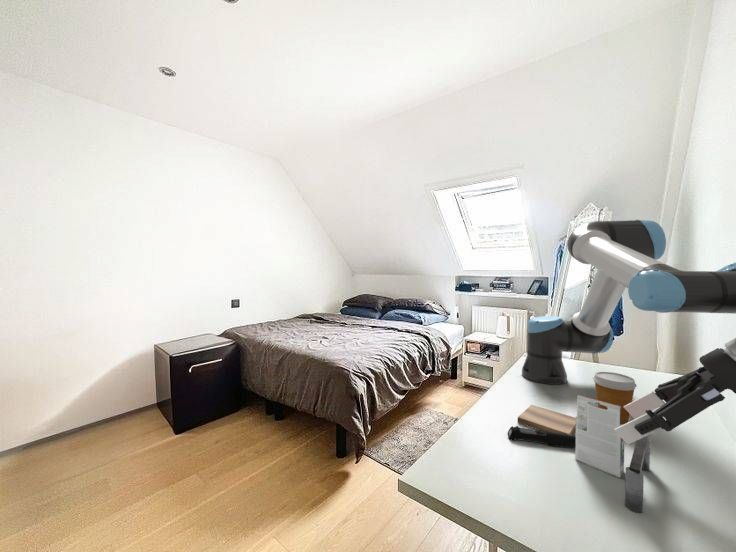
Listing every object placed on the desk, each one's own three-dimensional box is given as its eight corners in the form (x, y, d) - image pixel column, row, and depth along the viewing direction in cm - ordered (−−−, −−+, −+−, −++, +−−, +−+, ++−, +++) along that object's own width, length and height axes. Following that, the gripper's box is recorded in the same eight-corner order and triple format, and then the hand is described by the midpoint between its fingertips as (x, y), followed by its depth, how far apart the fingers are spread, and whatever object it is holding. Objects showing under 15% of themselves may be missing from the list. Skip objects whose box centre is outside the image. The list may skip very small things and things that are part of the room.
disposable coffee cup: (644, 429, 81) (645, 384, 80) (603, 426, 83) (604, 381, 82) (622, 413, 90) (623, 372, 90) (585, 410, 92) (586, 370, 92)
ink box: (580, 453, 70) (581, 390, 70) (624, 471, 64) (626, 401, 64) (574, 460, 68) (575, 394, 67) (620, 479, 62) (621, 406, 61)
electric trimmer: (582, 454, 71) (583, 441, 71) (508, 441, 76) (509, 428, 76) (577, 445, 74) (578, 432, 74) (507, 433, 79) (507, 421, 79)
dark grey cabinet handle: (635, 462, 67) (635, 430, 67) (650, 467, 65) (650, 434, 65) (623, 507, 54) (624, 468, 54) (642, 515, 53) (643, 475, 52)
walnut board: (531, 409, 92) (531, 404, 92) (579, 424, 84) (579, 418, 84) (517, 422, 84) (517, 417, 84) (568, 439, 76) (569, 433, 76)
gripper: (791, 410, 40) (636, 471, 51) (756, 368, 58) (647, 420, 69) (729, 361, 44) (597, 428, 55) (715, 335, 62) (617, 389, 72)
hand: (625, 423), depth 62 cm, fingers open, 13 cm apart
